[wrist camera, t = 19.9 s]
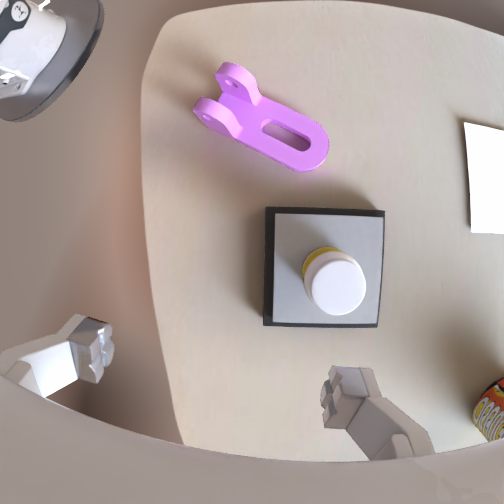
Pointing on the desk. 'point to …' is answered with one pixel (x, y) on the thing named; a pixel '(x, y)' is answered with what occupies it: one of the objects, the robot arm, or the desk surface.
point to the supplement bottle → (333, 280)
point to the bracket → (260, 120)
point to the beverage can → (491, 412)
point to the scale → (306, 240)
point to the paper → (486, 177)
